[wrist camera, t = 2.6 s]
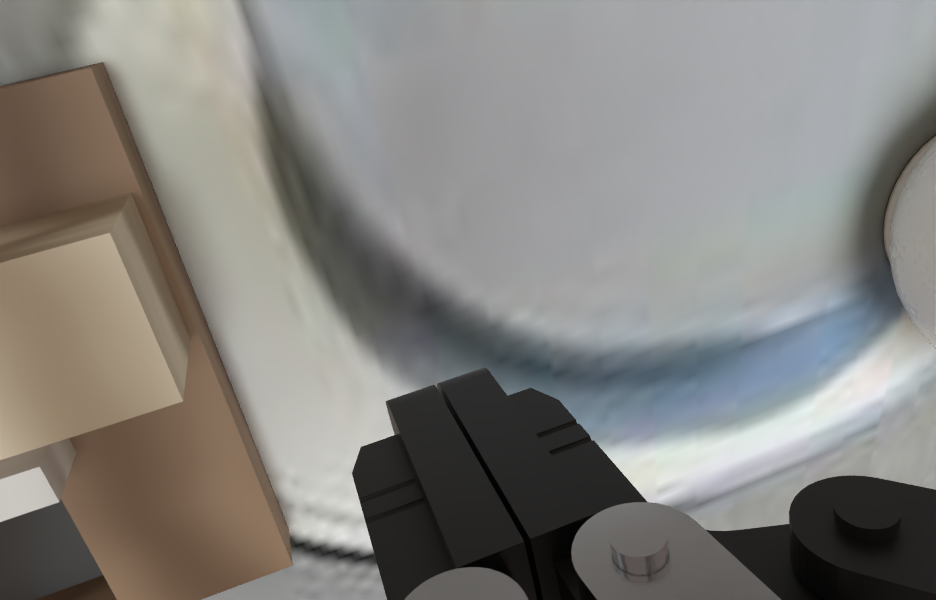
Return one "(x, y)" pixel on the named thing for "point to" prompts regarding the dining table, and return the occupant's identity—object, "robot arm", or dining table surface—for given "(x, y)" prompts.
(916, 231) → the lidded bowl
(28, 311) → the birch block
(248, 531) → the channel deck
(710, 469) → the dining table surface
